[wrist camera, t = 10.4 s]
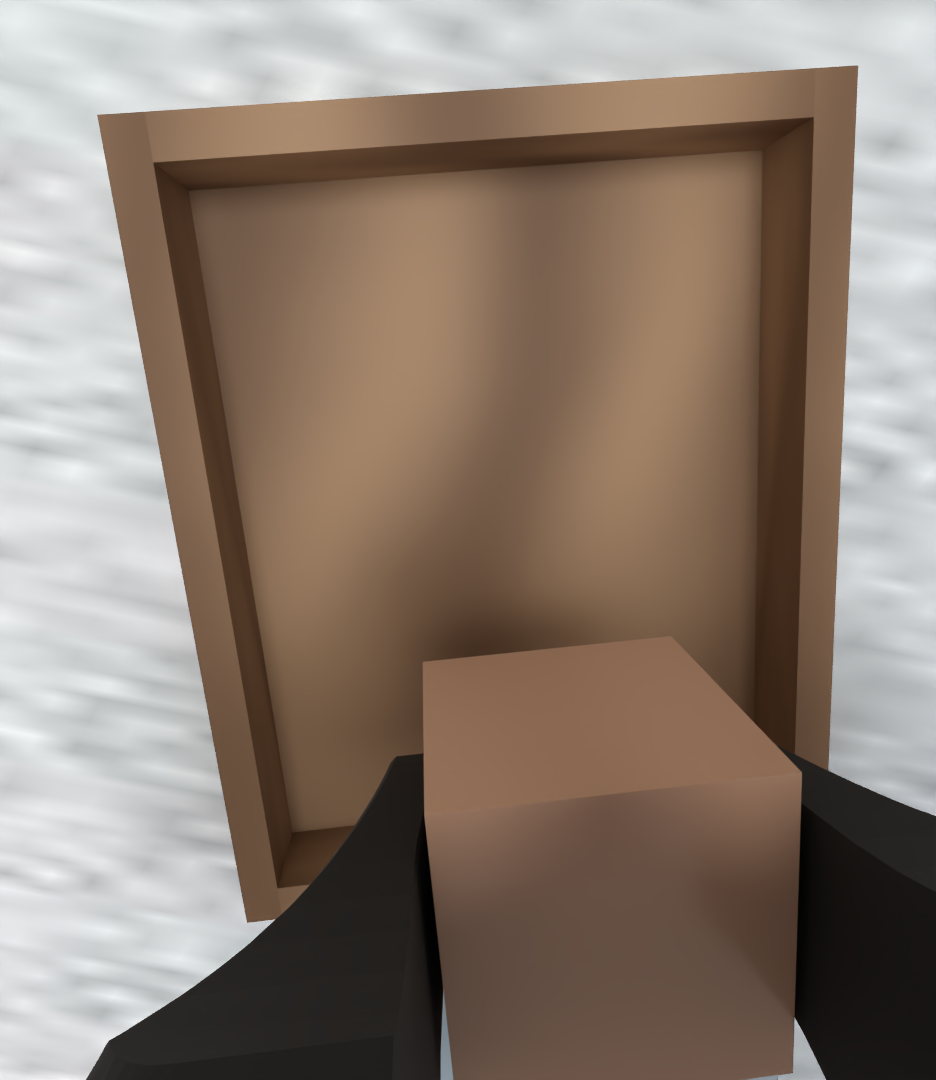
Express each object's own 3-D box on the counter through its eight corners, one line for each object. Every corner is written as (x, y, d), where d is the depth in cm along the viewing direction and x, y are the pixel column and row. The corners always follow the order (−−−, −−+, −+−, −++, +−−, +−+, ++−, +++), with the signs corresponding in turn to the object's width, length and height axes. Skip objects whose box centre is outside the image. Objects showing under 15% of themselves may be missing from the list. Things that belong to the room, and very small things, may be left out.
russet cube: (671, 636, 12) (802, 772, 8) (674, 852, 14) (792, 1073, 9) (423, 662, 12) (424, 815, 8) (445, 878, 13) (457, 1117, 9)
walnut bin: (788, 114, 15) (858, 65, 13) (773, 791, 19) (824, 851, 17) (150, 157, 15) (96, 114, 12) (269, 850, 19) (247, 922, 16)
